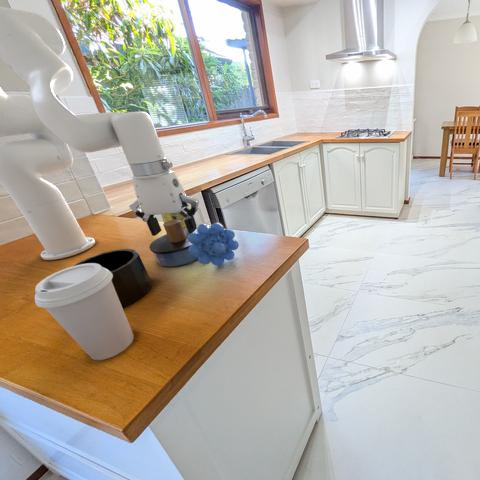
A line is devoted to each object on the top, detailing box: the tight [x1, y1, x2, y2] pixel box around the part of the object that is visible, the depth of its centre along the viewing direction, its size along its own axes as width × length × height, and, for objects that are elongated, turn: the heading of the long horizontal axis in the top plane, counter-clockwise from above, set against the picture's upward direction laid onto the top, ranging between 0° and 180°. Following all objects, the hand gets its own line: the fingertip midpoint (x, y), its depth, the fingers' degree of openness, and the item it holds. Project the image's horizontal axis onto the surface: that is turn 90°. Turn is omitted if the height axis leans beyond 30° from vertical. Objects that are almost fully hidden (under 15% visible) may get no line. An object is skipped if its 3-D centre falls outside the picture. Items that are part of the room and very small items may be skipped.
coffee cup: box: [34, 263, 135, 361], centre depth 48 cm, size 10×10×15 cm
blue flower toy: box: [188, 222, 240, 267], centre depth 71 cm, size 12×7×12 cm, turn 135°
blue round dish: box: [153, 248, 198, 268], centre depth 79 cm, size 13×13×4 cm
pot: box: [73, 248, 153, 309], centre depth 64 cm, size 13×13×8 cm
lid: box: [149, 219, 199, 254], centre depth 77 cm, size 14×14×6 cm
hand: (175, 232), depth 77 cm, fingers open, 9 cm apart
